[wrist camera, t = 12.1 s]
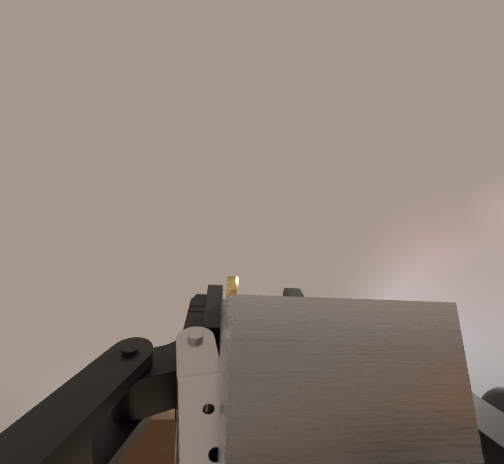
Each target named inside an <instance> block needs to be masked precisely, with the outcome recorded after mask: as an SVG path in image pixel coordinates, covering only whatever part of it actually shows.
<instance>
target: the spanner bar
mask: <svg viewBox="0 0 504 464" xmlns="http://www.w3.org/2000/svg"><path fill="white" fill-rule="evenodd" d="M238 279H239V278H238V277H227V287H226V298H225V299H223V300H221V321H220V338H219V352H218V354H219V371H220V387H219V426H218V453H217V462H218V464H484V458H483V452H482V447H481V441H480V435H479V430H478V424H477V419H476V413H475V407H474V402H473V396H472V391H471V385H470V379H469V374H468V368H467V363H466V357H465V351H464V346H463V340H462V334H461V329H460V324H459V318H458V312H457V306H456V303H452V302H451V303H450V302H425V301H424V302H423V301H397V300H395V301H394V300H371V299H342V298H317V297H289V296H261V295H238Z"/></svg>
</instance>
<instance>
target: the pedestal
mask: <svg viewBox="0 0 504 464" xmlns="http://www.w3.org/2000/svg"><path fill="white" fill-rule="evenodd" d="M119 464H175V409H172V410H169V411H166V412H162V413H159V414H156V415H153V416H152V418H151V420H150V422H149V423H148V425H147V426H146V427H145V429H144V430H143V431H142V433H141V434H140V435H139V437H138V438H137V440H136V441H135V442H134V444H133V445H132V446H131V448H130V449H129V450H128V452H127V453H126V454H125V456H124V457H123V458H122V460H121V461H120V462H119Z"/></svg>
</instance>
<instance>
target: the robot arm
mask: <svg viewBox="0 0 504 464" xmlns="http://www.w3.org/2000/svg"><path fill="white" fill-rule="evenodd" d="M222 291H223V285H208V291H207V295H206V294H196V295H195V296H194V297H193V298H192V299H191V301H190V305H189V309H188V313H187V317H186V321H185V325H184V329H183V330H182V331H181V332H180V333H179V334H178V335H177V337H176V341H174V342H172V343H170V344H167V345H164V346H160V347H154V348H153V345H152V343H151V342H150V341H149V340H147V339H145V338H139V337H134V338H128V339H125V340H122V341H120V342H118V343H116V344H115V345H114V346H112V347H111V348H110V349H108V350H107V351H106V352H104V353H103V354H102V355H101V356H99V357H98V358H97V359H95V360H94V361H93V362H92V363H90V364H89V365H88V366H87V367H85V368H84V369H83V370H81V371H80V372H79V373H77V374H76V375H75V376H74V377H72V378H71V379H70V380H68V381H67V382H66V383H65V384H63V385H62V386H61V387H59V388H58V389H57V390H56V391H54V392H53V393H52V394H50V395H49V396H48V397H47V398H46V399H44V400H43V401H41V402H40V403H39V404H38V405H36V406H35V407H34V408H32V409H31V410H30V411H29V412H27V413H26V414H25V415H24V416H22V417H21V418H20V419H19V420H17V421H16V422H15V423H13V424H12V425H11V426H9V427H8V428H7V429H5V430H4V431H3V432H2V433H0V464H119V462H120V461H121V460H122V458H123V457H124V456H125V454H126V453H127V452H128V450H129V449H130V448H131V446H132V445H133V444H134V442H135V441H136V440H137V438H138V437H139V435H140V434H141V433H142V431H143V430H144V429H145V427H146V426H147V425H148V423H149V422H150V420H151V418H152V416H153V415H156V414H159V413H162V412H166V411H169V410H172V409H175V464H218V462H217V453H218V426H219V387H220V371H219V354H218V352H219V338H220V321H221V300H222V293H223V292H222ZM283 296H289V297H304V295H303V294H302V292H301V290H300V289H299V288H285V289H284V291H283ZM472 396H473V402H474V407H475V413H476V419H477V424H478V430H479V435H480V441H481V447H482V452H483V458H484V464H504V387H496V388H493V389H491V390H489V391H487V392H486V393H485V394H484V395H483V397H482V398H480V397H478V396H476V395H475V394H473V393H472Z"/></svg>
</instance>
